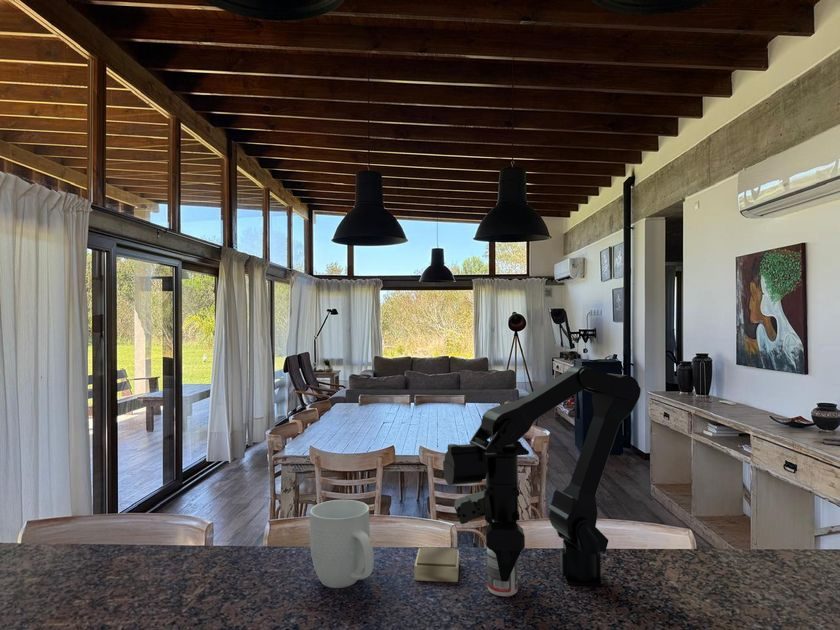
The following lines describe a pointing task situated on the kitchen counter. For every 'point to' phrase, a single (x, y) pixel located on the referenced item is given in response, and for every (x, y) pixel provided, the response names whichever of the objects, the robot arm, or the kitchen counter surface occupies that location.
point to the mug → (341, 542)
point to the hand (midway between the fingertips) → (502, 569)
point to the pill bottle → (495, 581)
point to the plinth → (437, 564)
